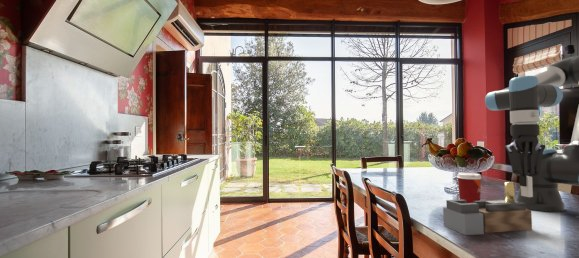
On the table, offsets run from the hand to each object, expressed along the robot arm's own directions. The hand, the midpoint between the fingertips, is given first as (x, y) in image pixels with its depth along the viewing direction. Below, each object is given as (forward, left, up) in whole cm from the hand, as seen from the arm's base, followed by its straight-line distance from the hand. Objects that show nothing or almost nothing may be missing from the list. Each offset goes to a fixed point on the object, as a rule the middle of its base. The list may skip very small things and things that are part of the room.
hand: (526, 196), depth 98 cm
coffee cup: (+8, -16, -10) cm, 20 cm away
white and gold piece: (+9, 0, -3) cm, 10 cm away
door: (+11, 0, -9) cm, 14 cm away
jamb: (+23, 0, -9) cm, 25 cm away
